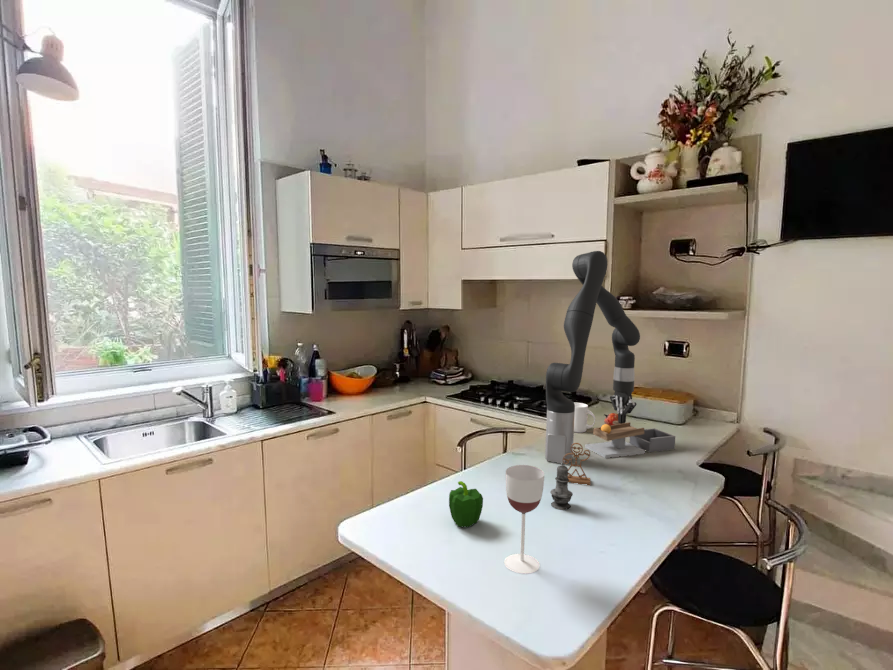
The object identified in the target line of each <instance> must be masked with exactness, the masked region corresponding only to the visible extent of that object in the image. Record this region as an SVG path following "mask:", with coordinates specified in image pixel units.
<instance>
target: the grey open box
mask: <svg viewBox="0 0 893 670" xmlns="http://www.w3.org/2000/svg"><path fill="white" fill-rule="evenodd" d="M628 443H630V444H632V445H634V446H636V447H639V448H641V449H643V450H646V451H645V452H647V451H648V453H654V451H657V452H664V451H663V450H666V451H671V450H670V449H674V450H676V449H675V447H676V436H675V435H672V434H670V433H667V432H665V431H663V430H660V429H657V428H644V434H642V435H636V436H631V437H629V442H628Z"/></svg>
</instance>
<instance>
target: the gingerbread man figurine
mask: <svg viewBox="0 0 893 670" xmlns="http://www.w3.org/2000/svg"><path fill="white" fill-rule="evenodd" d="M574 445H578V447H576V446H574ZM572 446H573V447H572ZM571 448H573V451H572V449H571V452H572V453H568V454H566V455H565V456H567V455H570V454H571V455H573V458H575V459H574V460H575V462H574V463H573V462H572V461H573V460H572V458H570V459H569V460H571V462H569V460H568V459H565V458H564V457H565V456H564V457H563V460H565V461H568V462H567V463H565V462H564V461H563V463H564V465H568V464H569V463H570V466H569V467H568V479H569V481H568V482H571V483H570V484H574V483H578V484H577V485H582V484H587V485H586V486H591V477H588V476H587V474H586V473H585V471H584V470H583V467H582V462H585V461H588V459H590V457H591V450H589V449H584V447H583V445H582V444H581V443H579V442H573V444H572V445H571ZM576 449H577V450H578V451H576ZM583 450H584V451H583ZM587 452H588V453H587ZM584 455H585V456H587V457H586V458H584V459H580V460H579V461H580V464H578V462H577V461H578V458H580V456H581V457H582V456H584ZM572 467H577V468H580V470H581V471H582V473H583V474H580V473H579V471H578V469H577V468H574V470H573V472H572V473H570V472H569V471H570V469H571V468H572ZM575 472H576V473H577V475H578V476H577V475H574V474H575Z"/></svg>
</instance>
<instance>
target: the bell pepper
mask: <svg viewBox="0 0 893 670" xmlns="http://www.w3.org/2000/svg"><path fill="white" fill-rule="evenodd" d="M457 484H458V485H459V487H457V488H455V489H451V490H450V492H449V494H448V495H449V496H448V497H449V498H448V507H449V511H450V515H451V518H452V520H453V522H454V523H455V524H456V525H457V526H458V527H461V528H470V527H472V526H473V525H475V524H477V523H478V522H479V520H480V517H481V515H482V510H483V505H484V497H483V495H482V493H480V492H479V491H478V489H477V488H470V489H468V486H467V484H466V483H465V482H464V481H461V480H459V481H457Z"/></svg>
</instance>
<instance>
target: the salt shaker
mask: <svg viewBox="0 0 893 670" xmlns="http://www.w3.org/2000/svg"><path fill="white" fill-rule="evenodd" d="M568 469H569V467H568V466H565V464H564V463H562V464H560V465H558V466H557V469H556V477H555V478H554V479H555V482H556V483H555V488H552V489H551V490H550V494H551V498H552V500H553V501H552V502H551V503H550V505H551V507H552V508H554V509H555V510H560V511H567V510H570V509H571V508H572V505H571V504H570V501H571V499H572V497H573V496H574V495H573V492H572V491H571V490H569V487H568V486H569V485H568V484H569V483H568V481H569V479H568V473H569V471H568Z"/></svg>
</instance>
